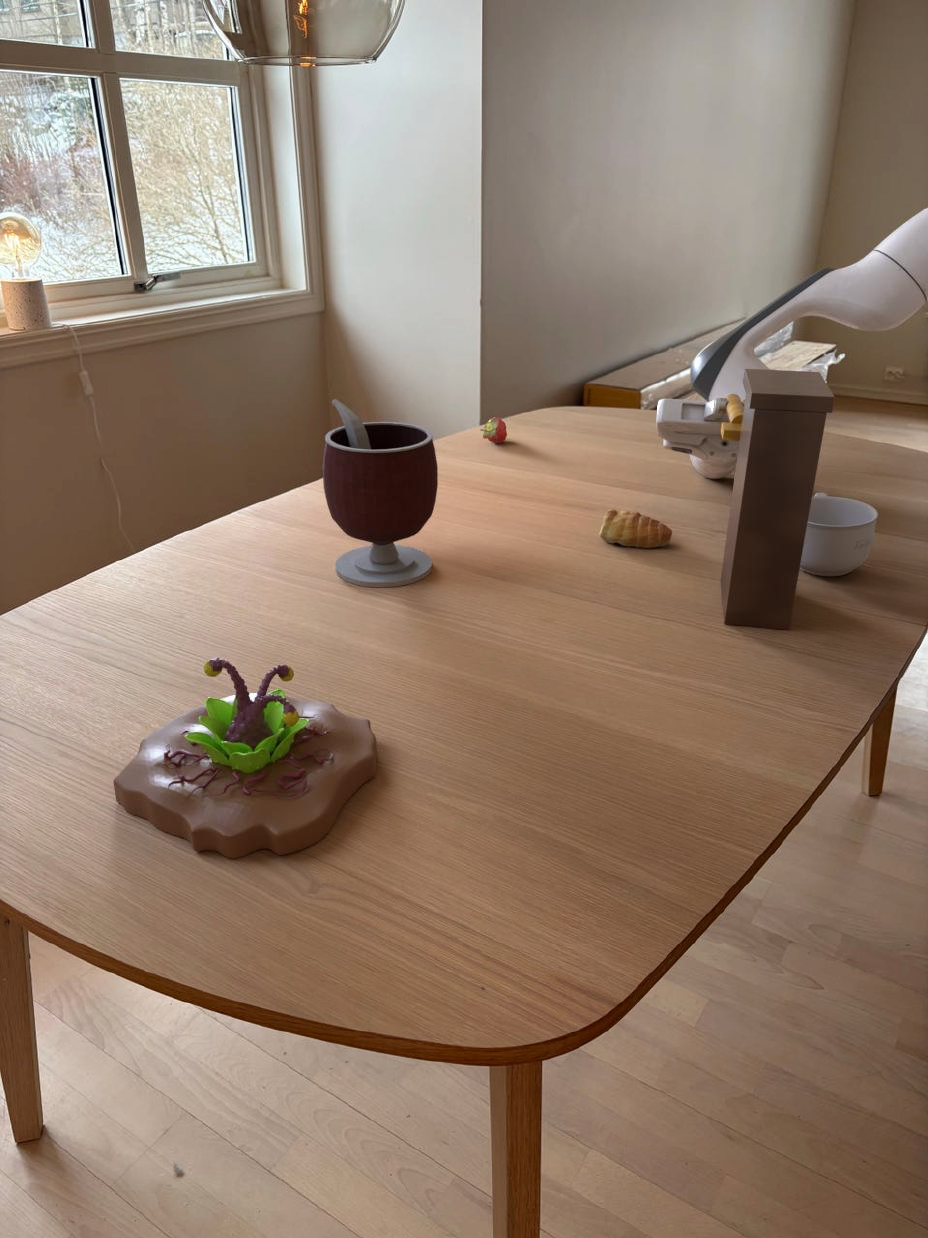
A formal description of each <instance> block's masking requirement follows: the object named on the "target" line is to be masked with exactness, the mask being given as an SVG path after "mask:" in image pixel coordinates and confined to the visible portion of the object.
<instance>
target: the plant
mask: <svg viewBox="0 0 928 1238" xmlns="http://www.w3.org/2000/svg"><path fill="white" fill-rule="evenodd" d="M223 669H225V670H226V672H227V674H228V675H229V676H230V680H231V681H232V683H233V688H234V690H235V694H233V695H232V694H231V695H229V696H226V697H223V698H217V697H211V696H208V697H207V698H206V699H205V701H204V703H203V704H201V705H198V706H196V707H193V708H191V709H189V710H187V711H185V712H184V713H181V714H179V715H177V716H176V717H174V718H173V719H171V720H169V721H168V722H167V723H165V724H164V725H163V726H161V727H160V728H157V729H156V730H154V731H153V732H152V733H150V734H149V735H148V736H146V737H145V738H144V739H142V740H141V742H140V744H139V748H138V752H137V754H136V755H135V756H134V758H132V759H131V760H130V761H129V762H128V763H127V765H126V766H125V767H124V768H123V769H122V770H121V771H120V772H119V773H118V775H116V777H115V778H114V779H113V787H114V789H113V790H114V795H115V802H117V803H118V804H119V805H121V807H122V808H123V809H124V810H125V811H126V812H127V813H129V814H131V815H134V816H137V817H140V818H142V819H145V820H147V821H148V822H150V824H152V825H153V826H154V827H155V828H156V829H158V830H160V831H161V832H165V833H168V834H171V835H172V836H175V837H179V838H183V839H185V840H187V841H189V842H190V844H191V845H192V848H193V850H194V851H195V852H203V851H214V852H218V853H220V854H221V855H223V856H224V857H226V858H227V859H232V860H233V859H238V858H242V857H244V856H247V855H249V854H251V853H253V852H256V851H258V850H263V849H268V850H270V851H272V852H273V853H275V854H277V855H278V856H284V855H289V854H292V853H295V852H299V851H301V850H304V849H306V848H308V847H310V846H312V845H314V844H316V843H318V842H319V841H321V840H322V839H323V838H324V837H325V836H326V835H327V834H328V833H329V832H330V830H331V829H332V827H333V826H334V824H335V822H336V821H337V817H338V816H339V814H340V812H341V810H342V808H343V807H344V805H345V804H346V803H347V802H348V800H349V799H350V798H351V797H352V796H353V795H354V794H355V793H356V792H357V790H358V789H359V788H360V787H361V786H363V785H364V784H365V783H366V782H368V781H370V780H371V779H372V778H374V777H375V775H376V774H377V759H378V747H377V738H376V737H377V736H376V735H375V733H374V732H373V730H372V727H371V721H370V720H369V719H368V718H358V717H352V716H349V715H346V714H345V713H343V712H341V711H340V710H338V709H337V707H335V706H334V704H331V703H328V702H324V701H314V700H305V699H300V698H294V697H291V696H286V695H285V694H286V693H285V691H284V690H283V689H282V688H277V689H274V690H272V691H270V692H268V690H269V688H270V684H271V683H272V680H273V679H274V678H275V676H276V675H277V676H278V678H279V679H280V680H281V681H282V682H287V683H288V682H291V681H292V680H293V678H294V677H295V671H294V669H293V668H292V667H291V666H289V665H287V664H277V665H276V666H274V667H272V669H269V672H266V674H265V676H264V677H263V678H262V679H261V684H259V686H258V687H259V688H258V691H257V692H249V691H248V686H247V685H246V684H245V683H246V681H245V679H243V678H242V676H241V675H240V674H239V671H238V670H237V668H236V667H235V665H232V664H231V663H230V662H229V661H228V660H225V659H223V658H220V657H212V658H209V659H208V660H206V662H204V664H203V672H204V674H206V676H208V677H209V678H214V677H215V678H217V676H219V675H220V674H221V673H222V671H223Z"/></svg>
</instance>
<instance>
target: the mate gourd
mask: <svg viewBox="0 0 928 1238" xmlns="http://www.w3.org/2000/svg"><path fill="white" fill-rule="evenodd" d="M331 405H332V406H333V407H335V408H336V410H337V412H338V413H339V416H340V417H341V420H342V423H343V426H339V427H336V428H334V429H332V430H330V431H328V432H327V433H326V434H325V436H324V441H325V444H324V449H323V455H322V456H323V458H322V468H321V469H322V485H323V491H324V496H325V502H326V505H327V509H328V511H329V514H330V516H331V518H332V520H333V521H334V522H335V523H336V525H337V526H338V527H339V528H340V529H341V530H342V531H343V533H344V534H346V535H347V536H349V537H351V538H352V539H355V540H359V541H364V542H367V543H372V544H371V545H367V546H361V547H358V548H355V549H351V550H348V551H346V552H344V553H343V554H341V555H340V556H339V557H338V558H337V559H336V560H335V565H334V566H335V573H336V575H337V576H338V577H339V579H341V580H343V581H345V582H347V583H350V584H352V585H356V586H361V587H367V588H368V587H369V588H392V587H393V588H394V587H401V586H406V585H410V584H413V583H416V582H419V581H421V580H423V579H424V578H426V577H427V576H428V575H429V574H430V573H432V569H433V560H432V558H431V556H430V555H429V554H428V553H426V552H425V551H422V550H421V549H418V548H415V547H411V546H407V545H400V544H395V542H399V541H402V540H405V539H409V538H411V537H414V536H415V535H417V534H419V533H420V531H421V530H422V529H423V528H424V526H425V525H426V524H427V522H428V521H429V520H430V519H431V517H432V516H433V513H434V509H435V505H436V500H437V493H438V485H439V481H438V478H439V477H438V476H439V475H438V473H439V472H438V460H437V454H436V449H435V448H436V447H435V444H434V440H433V438H434V435H433V432H431V430H429V428H426V427H424V426H420V425H417V424H412V423H408V422H407V423H406V422H398V421H397V422H396V421H370V422H369V421H368V422H362V421H361V419H360V418H359V417H358V416H357V414H356V413H354V411H352V410H351V409H350V408H349V407H347V406H346V405H345V404H344V403H343V402H340V400H338V399H337V398H334V399H332V401H331Z"/></svg>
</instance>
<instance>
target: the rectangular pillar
mask: <svg viewBox="0 0 928 1238" xmlns="http://www.w3.org/2000/svg"><path fill="white" fill-rule="evenodd" d="M743 385H744V389H745V392H746V397H745V404H744V412H743V419H742V426H741V434H740V441H739V449H738V456H737V463H736V470H735V471H734V479H733V486H732V494H731V500H730V501H731V502H730V507H729V508H730V509H729V516H728V523H727V530H726V536H725V537H726V539H725V544H724V551H723V558H722V561H723V562H722V565H721V566H722V567H721V574H720V593H721V603H722V615H723V625H729V626H738V627H739V626H740V627H749V628H751V627H752V628H761V629H762V628H763V629H771V630H772V629H773V630H782V631H785V630H786V631H790V627H791V626H790V625H791V619H792V615H793V608H794V603H795V597H796V591H797V586H798V581H799V580H798V579H799V573H800V570H801V569H800V563H801V558H802V552H803V546H804V541H805V535H806V529H807V523H808V518H809V512H810V506H811V501H812V497H813V496H814V495H813V494H814V488H815V484H816V477H817V472H818V465H819V461H820V455H821V448H822V443H823V437H824V431H825V427H826V420H827V415H828V414H832V413H833V411H834V406H835V405H834V404H835V400H836V396H835V395H834V394H833V391H832V390H831V388H830V387H829V386H828V384H827V382H826V380H825V379H824V377H823V376H822V374H821V372H820V371H807V370H805V371H804V370H785V369H784V370H782V369H770V370H763V369H745V370H744V378H743Z"/></svg>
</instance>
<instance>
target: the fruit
mask: <svg viewBox="0 0 928 1238" xmlns="http://www.w3.org/2000/svg"><path fill="white" fill-rule="evenodd" d="M483 427H484V428H480V429H479V431H480V432H483V434H482V438H483V439H484V440H488V441H489V442H491V443H493V444H502V443H503V442H505V441H506V439H507V437H508V431H507V425H506V422H504V420H503V419H501V418H500V417H494V416H492V417H491V418H490V419H489V420H487V421H486V423H485V425H484V426H483Z"/></svg>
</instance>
